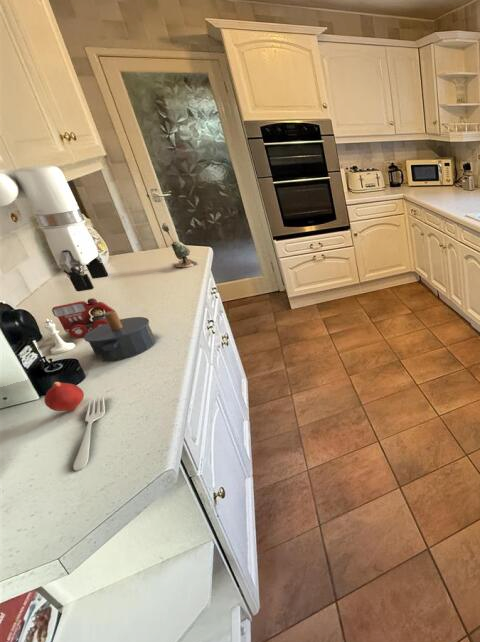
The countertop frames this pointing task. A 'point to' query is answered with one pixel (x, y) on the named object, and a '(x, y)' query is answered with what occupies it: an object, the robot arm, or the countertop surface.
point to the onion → (63, 397)
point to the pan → (124, 346)
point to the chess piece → (57, 339)
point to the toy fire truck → (81, 316)
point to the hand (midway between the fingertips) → (93, 283)
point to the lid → (116, 328)
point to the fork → (88, 435)
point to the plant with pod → (180, 251)
